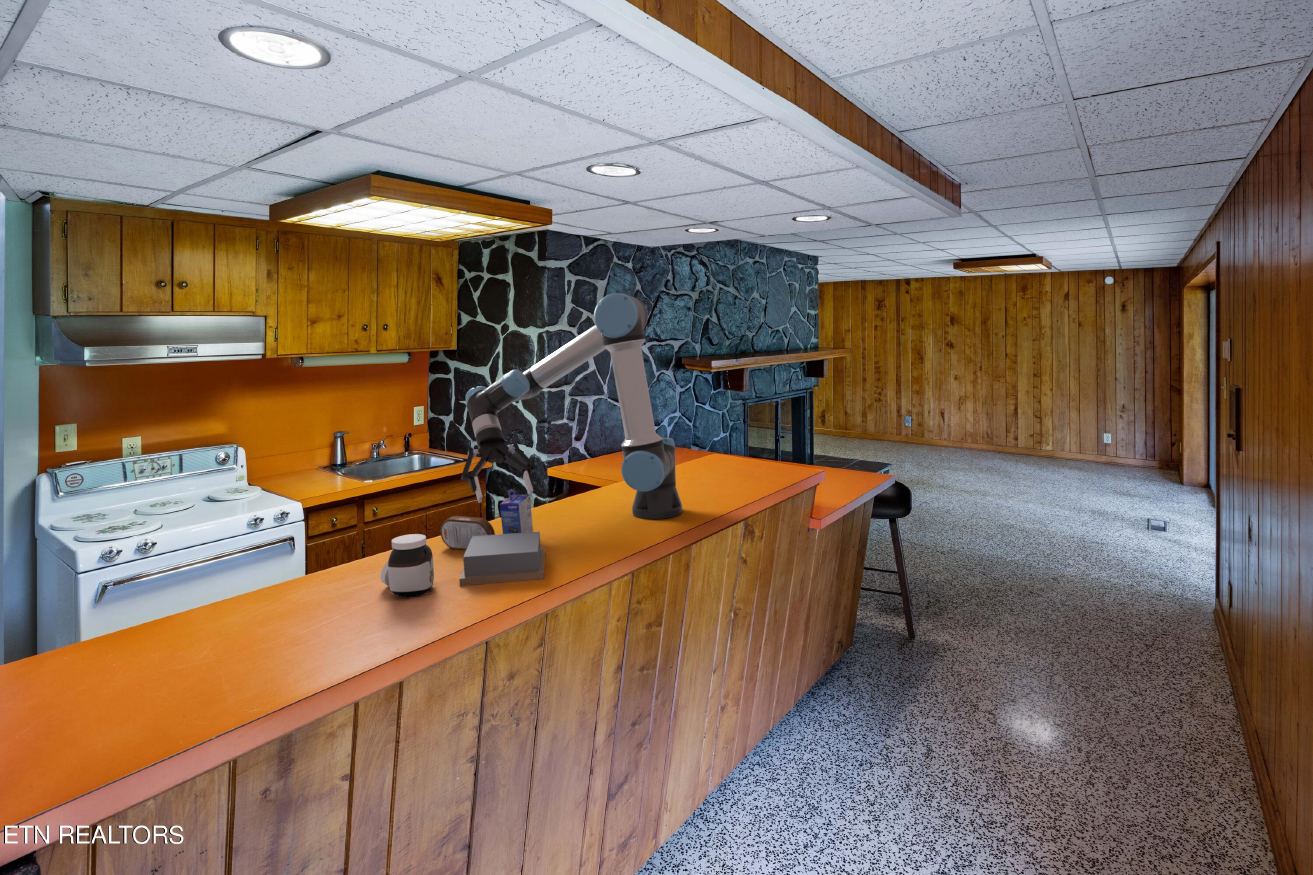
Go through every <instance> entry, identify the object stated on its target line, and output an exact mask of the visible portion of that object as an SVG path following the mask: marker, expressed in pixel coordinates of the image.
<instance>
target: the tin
mask: <svg viewBox="0 0 1313 875" xmlns="http://www.w3.org/2000/svg"><path fill="white" fill-rule="evenodd" d="M439 532H440V537H441V540H442V542H443V543H444V545H446V546H447V547H448V548H450V549H452V548H453V550H460V549H463V550H462V551H466V550H467V547H468V545H469V543H470V541H471V538H472V536H484V535H496V534H495V529H494V527H493V525H492V524H491V523H490V522H489V520H486V518H482V517H475V516H465V515H464V516H463V515H461V516H460V515H452V516H450V517H448V518H447V519H446V520H444V521H443V522H442V523H441V525H440V530H439Z"/></svg>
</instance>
